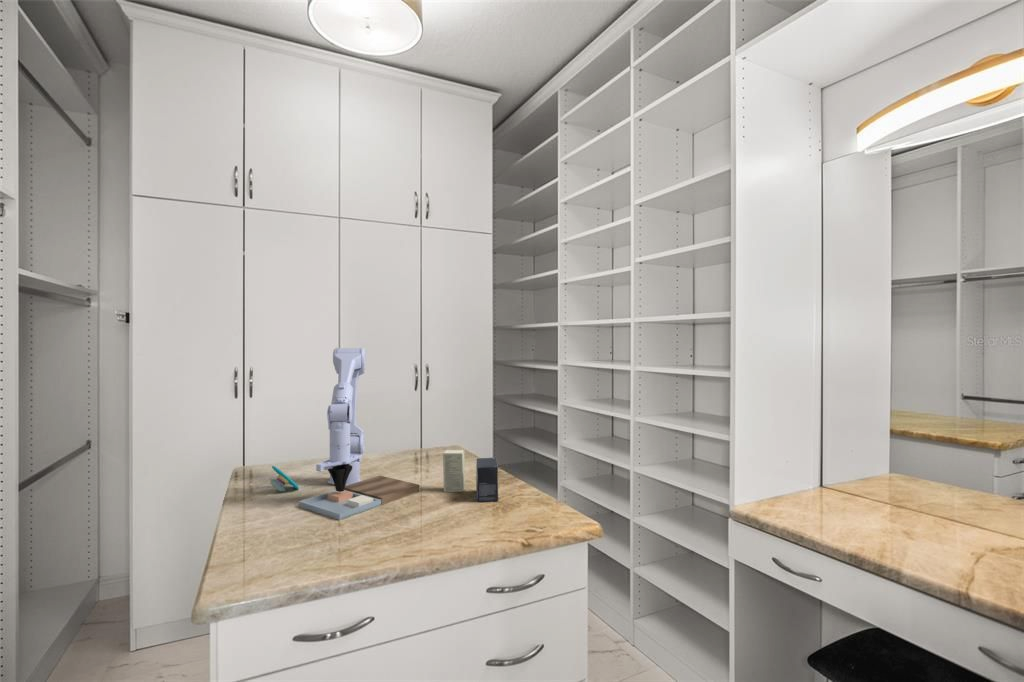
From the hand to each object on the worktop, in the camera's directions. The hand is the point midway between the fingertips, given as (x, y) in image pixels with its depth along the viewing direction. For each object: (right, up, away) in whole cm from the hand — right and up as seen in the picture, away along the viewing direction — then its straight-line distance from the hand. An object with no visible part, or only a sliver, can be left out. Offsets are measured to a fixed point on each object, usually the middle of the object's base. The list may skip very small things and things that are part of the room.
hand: (340, 490), depth 147 cm
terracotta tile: (0, -2, 0) cm, 2 cm away
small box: (+43, -3, +4) cm, 43 cm away
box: (+2, -3, -5) cm, 6 cm away
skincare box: (+32, -3, +10) cm, 34 cm away
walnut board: (+10, -3, +7) cm, 13 cm away
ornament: (-20, -3, +9) cm, 22 cm away
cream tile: (+8, -2, -5) cm, 9 cm away
